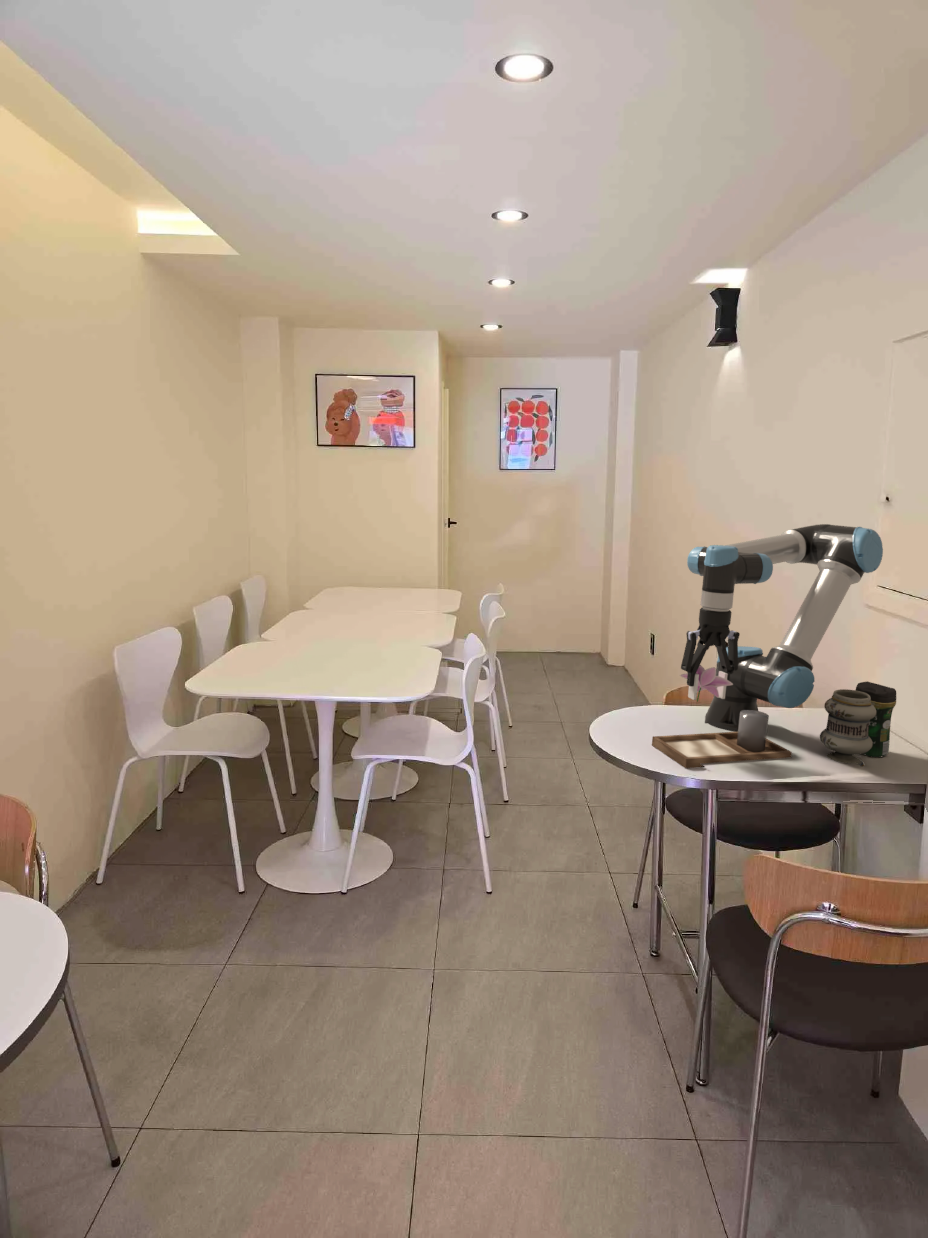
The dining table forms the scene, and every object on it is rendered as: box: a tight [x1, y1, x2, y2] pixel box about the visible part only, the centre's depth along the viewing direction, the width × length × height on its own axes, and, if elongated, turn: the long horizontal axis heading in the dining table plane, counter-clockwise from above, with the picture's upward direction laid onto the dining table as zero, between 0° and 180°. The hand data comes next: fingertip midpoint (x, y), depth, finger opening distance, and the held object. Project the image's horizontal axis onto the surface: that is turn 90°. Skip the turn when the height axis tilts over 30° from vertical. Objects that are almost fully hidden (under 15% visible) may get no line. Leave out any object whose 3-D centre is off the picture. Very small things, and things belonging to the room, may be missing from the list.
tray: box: [651, 731, 793, 769], centre depth 205 cm, size 30×16×2 cm, turn 106°
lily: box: [679, 664, 733, 702], centre depth 200 cm, size 12×12×10 cm
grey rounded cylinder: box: [737, 710, 769, 752], centre depth 206 cm, size 7×7×9 cm
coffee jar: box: [855, 680, 897, 758], centre depth 209 cm, size 10×8×19 cm
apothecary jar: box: [819, 688, 876, 767], centre depth 201 cm, size 12×12×18 cm
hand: (706, 697), depth 201 cm, fingers closed on lily, 7 cm apart
